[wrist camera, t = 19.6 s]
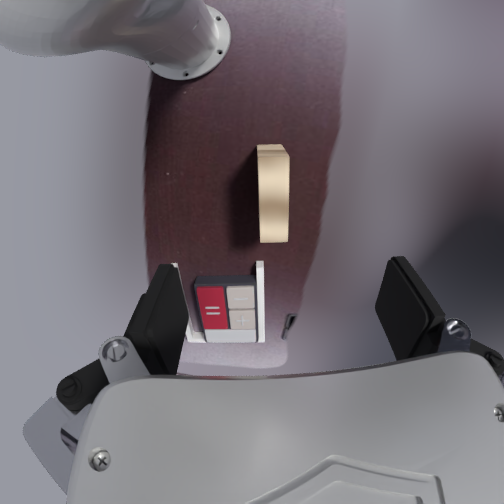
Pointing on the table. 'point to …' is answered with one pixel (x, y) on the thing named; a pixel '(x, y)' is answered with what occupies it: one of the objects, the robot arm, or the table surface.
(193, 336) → the bay
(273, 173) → the block
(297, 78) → the table surface
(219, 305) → the calculator
